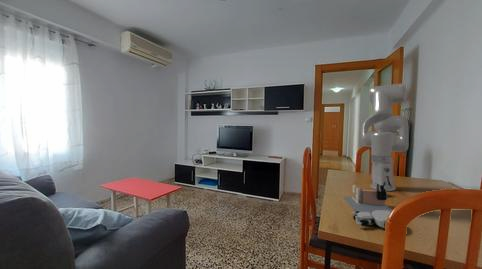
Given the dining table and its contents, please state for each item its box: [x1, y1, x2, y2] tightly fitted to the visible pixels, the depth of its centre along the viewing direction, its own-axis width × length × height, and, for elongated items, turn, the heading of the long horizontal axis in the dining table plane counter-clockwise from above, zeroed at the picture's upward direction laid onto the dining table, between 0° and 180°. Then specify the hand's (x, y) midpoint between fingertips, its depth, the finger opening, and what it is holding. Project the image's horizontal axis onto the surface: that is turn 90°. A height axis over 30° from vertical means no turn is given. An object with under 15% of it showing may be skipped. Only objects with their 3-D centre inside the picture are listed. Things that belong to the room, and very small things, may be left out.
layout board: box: [343, 196, 393, 214], centre depth 97 cm, size 19×16×1 cm
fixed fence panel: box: [352, 184, 363, 204], centre depth 102 cm, size 9×2×7 cm, turn 169°
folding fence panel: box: [362, 189, 386, 205], centre depth 97 cm, size 9×1×6 cm, turn 75°
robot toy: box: [350, 210, 391, 229], centre depth 78 cm, size 12×4×15 cm
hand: (381, 199), depth 93 cm, fingers closed
